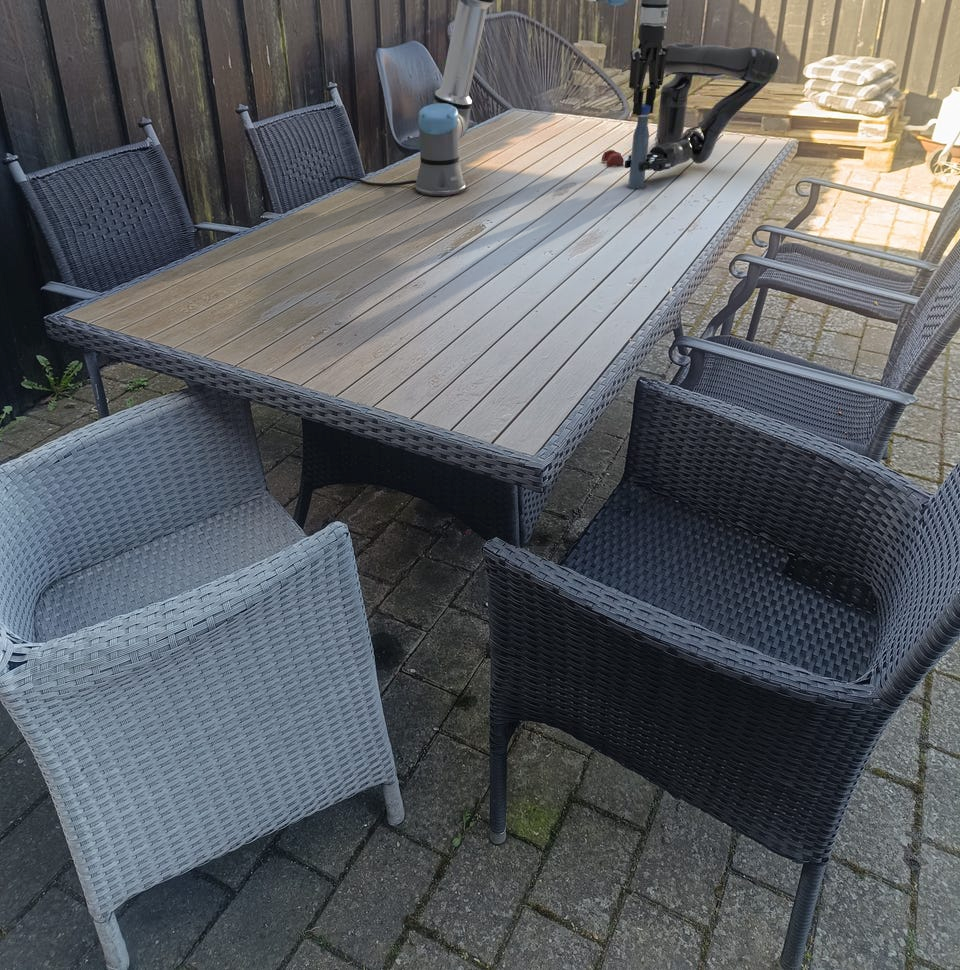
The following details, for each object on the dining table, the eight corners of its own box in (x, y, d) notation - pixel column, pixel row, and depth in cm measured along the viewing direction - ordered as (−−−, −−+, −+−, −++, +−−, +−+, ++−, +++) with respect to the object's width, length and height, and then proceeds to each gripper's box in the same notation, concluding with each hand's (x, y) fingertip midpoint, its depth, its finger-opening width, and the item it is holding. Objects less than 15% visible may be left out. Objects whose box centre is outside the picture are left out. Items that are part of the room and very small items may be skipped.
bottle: (624, 186, 262) (631, 115, 250) (636, 183, 264) (643, 113, 252) (635, 189, 258) (642, 118, 247) (646, 187, 261) (654, 116, 249)
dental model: (616, 146, 283) (625, 152, 277) (615, 159, 286) (624, 165, 280) (600, 148, 282) (609, 154, 276) (600, 161, 285) (608, 167, 279)
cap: (652, 113, 248) (653, 106, 247) (641, 115, 246) (642, 107, 245) (643, 111, 251) (644, 103, 250) (632, 112, 249) (633, 105, 248)
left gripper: (641, 28, 228) (631, 119, 242) (683, 23, 237) (672, 112, 251) (621, 24, 233) (612, 114, 247) (664, 20, 242) (653, 107, 255)
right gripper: (649, 139, 267) (615, 149, 258) (686, 147, 259) (653, 158, 249) (646, 163, 272) (613, 174, 262) (683, 173, 263) (650, 183, 254)
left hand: (642, 113), depth 249 cm, fingers closed on cap, 4 cm apart
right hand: (632, 166), depth 256 cm, fingers closed on bottle, 4 cm apart
